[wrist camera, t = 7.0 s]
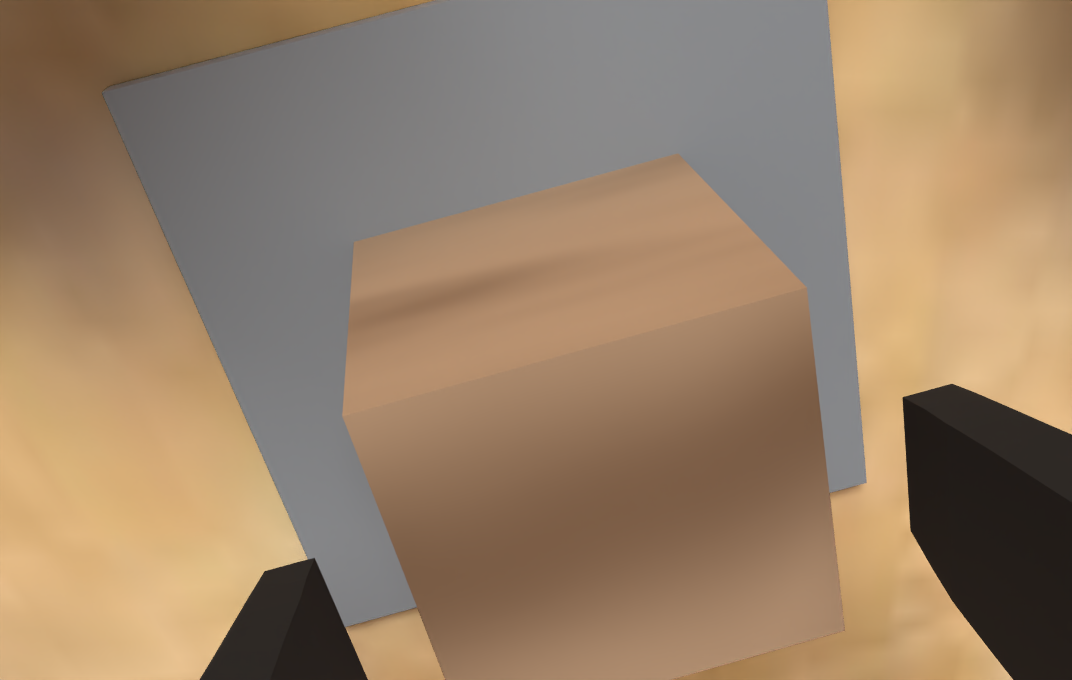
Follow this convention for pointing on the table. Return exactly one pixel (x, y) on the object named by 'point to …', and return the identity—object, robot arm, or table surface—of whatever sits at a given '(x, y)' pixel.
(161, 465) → the table surface
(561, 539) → the walnut cube
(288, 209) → the mat
